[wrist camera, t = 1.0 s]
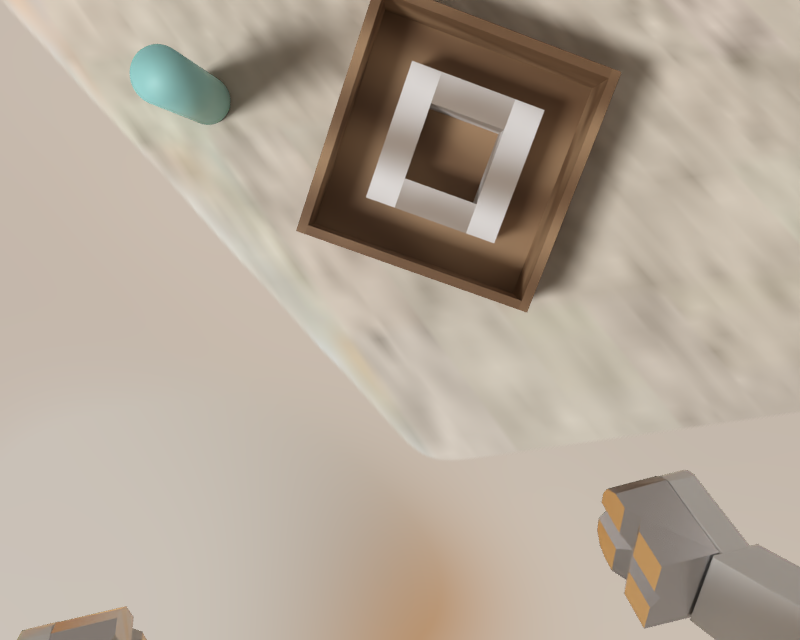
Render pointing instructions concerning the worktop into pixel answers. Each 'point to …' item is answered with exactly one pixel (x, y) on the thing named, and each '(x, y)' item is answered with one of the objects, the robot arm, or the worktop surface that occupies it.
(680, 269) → the worktop surface
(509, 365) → the worktop surface
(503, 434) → the worktop surface
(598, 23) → the worktop surface
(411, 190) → the box
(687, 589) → the robot arm
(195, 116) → the peg
